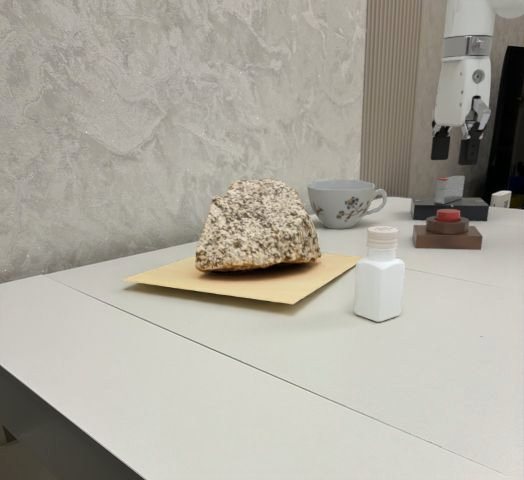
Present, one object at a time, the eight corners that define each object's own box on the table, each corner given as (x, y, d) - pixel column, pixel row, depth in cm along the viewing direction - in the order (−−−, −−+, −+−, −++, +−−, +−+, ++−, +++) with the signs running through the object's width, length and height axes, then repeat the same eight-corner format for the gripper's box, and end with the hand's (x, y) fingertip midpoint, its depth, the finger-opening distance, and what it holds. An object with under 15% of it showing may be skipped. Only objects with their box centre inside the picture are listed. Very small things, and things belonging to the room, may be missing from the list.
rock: (226, 242, 93) (270, 155, 85) (326, 318, 90) (383, 234, 81) (116, 277, 70) (161, 161, 61) (244, 381, 66) (312, 274, 58)
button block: (472, 238, 93) (476, 215, 92) (480, 250, 86) (484, 224, 84) (412, 237, 95) (414, 214, 93) (415, 248, 88) (417, 223, 86)
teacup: (307, 233, 100) (307, 188, 97) (305, 220, 111) (306, 179, 108) (390, 232, 99) (393, 186, 96) (380, 219, 111) (383, 178, 107)
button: (457, 219, 90) (458, 209, 90) (460, 224, 87) (461, 212, 87) (434, 219, 91) (436, 208, 90) (437, 223, 88) (438, 212, 87)
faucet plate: (477, 211, 117) (479, 195, 116) (488, 223, 105) (490, 206, 104) (409, 210, 120) (411, 195, 118) (413, 221, 108) (414, 205, 107)
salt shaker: (351, 314, 61) (355, 228, 57) (375, 306, 63) (381, 223, 59) (378, 324, 58) (385, 234, 54) (403, 316, 60) (411, 229, 56)
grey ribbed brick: (452, 197, 115) (455, 174, 113) (462, 198, 114) (465, 174, 112) (434, 203, 109) (436, 178, 107) (443, 204, 108) (446, 179, 106)
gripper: (519, 46, 82) (500, 166, 89) (459, 56, 97) (447, 157, 104) (473, 46, 81) (458, 167, 88) (420, 56, 96) (411, 158, 103)
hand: (452, 162), depth 96 cm, fingers open, 9 cm apart
